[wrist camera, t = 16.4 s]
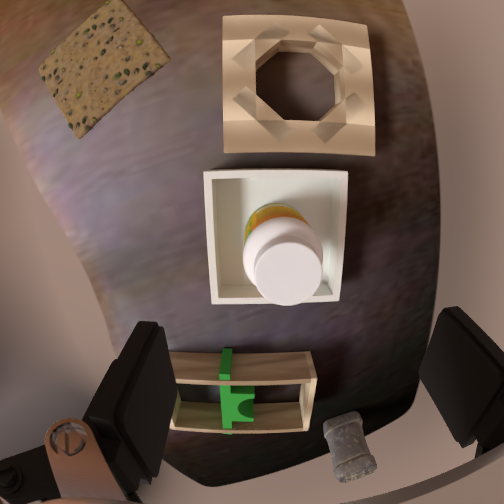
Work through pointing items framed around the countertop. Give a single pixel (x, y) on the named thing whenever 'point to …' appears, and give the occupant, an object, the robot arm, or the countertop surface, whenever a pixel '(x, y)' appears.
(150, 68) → the speckled tile
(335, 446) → the stone
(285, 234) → the supplement bottle
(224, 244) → the tray
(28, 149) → the countertop surface
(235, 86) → the plate
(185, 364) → the parts corral
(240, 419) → the pipe clamp
